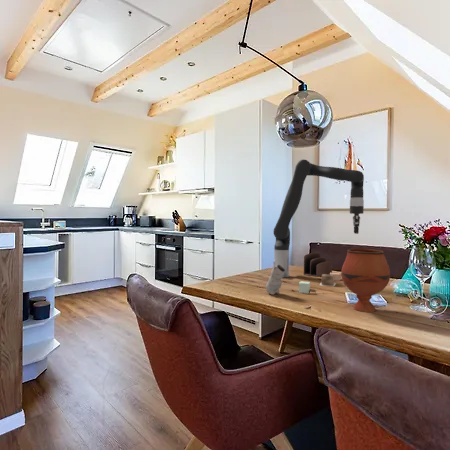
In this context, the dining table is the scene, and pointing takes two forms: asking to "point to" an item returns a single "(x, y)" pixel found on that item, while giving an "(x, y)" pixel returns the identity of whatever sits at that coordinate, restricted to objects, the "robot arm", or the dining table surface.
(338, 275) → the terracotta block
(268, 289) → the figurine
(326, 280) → the walnut block
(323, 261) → the letter holder
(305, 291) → the sage block
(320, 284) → the build plate
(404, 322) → the dining table surface
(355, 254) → the goblet
